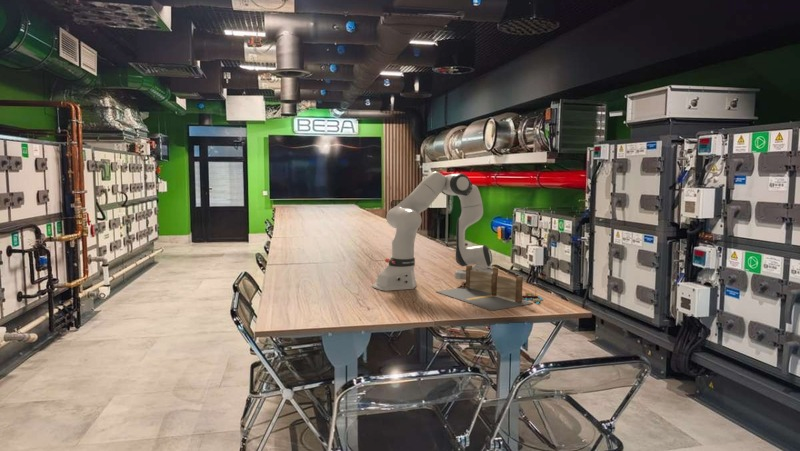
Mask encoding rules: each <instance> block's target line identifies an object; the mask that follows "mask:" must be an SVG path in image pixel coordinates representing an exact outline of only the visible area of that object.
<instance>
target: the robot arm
mask: <svg viewBox="0 0 800 451" xmlns="http://www.w3.org/2000/svg"><path fill="white" fill-rule="evenodd" d="M440 194H443V195H445V196H457V197H458V198H459V201H460V208H461V213H460V216H459V217H458V218H457V220H456V229H455V230H456V234H455V235H456V236H455V238H456V240H455V241H456V242H455V244H456V248H455V262H456V263H457V264H458V265H460V267H466V265H472V270H477V271H482V272H487V273H492V274H493V266H492V264H493V255H492V251H491V249H490V248H489V247H488V246H487V245H486V244H482V245H481V244H479V245H474V246H466V243H465V242H466V230H467V229H468V228H469V227H471V226H472V225H474V224H475V223H478V222H479V221H480V220H481V219H482V217H483V215H484V206H483V201H482V199H483V198H482V196H481V193H480V189H479V188H478V186H477V185H475V184H472V182H471V179H470V178H469V177H468V176H467V175H466V174H464V173H459V172H458V173H450V174H446V175H444V174H443V173H441V172H439V171H432V172H431V173H429V174H428V175H427V176H426V177H425V178H424V179H423V180H421V181H420V182H419V184H418V185H417V186H416V188H414V189H413V191H412V192H411V193H409V195H408V196H406V197H405V198H404V199H403V200H401V201H400V202H399V203H397V204H396V206H394V207H392V208H390V209H389V210H388V211H387V213H386V222H387V223H388V225H389V226H391V227H392V228H394V229H396V231H395V234H394V235H395V236H394V238H393V240H392V242H391V257H390V258H387V257H386V258H384V262H385V263H387V264H388V265H387V266H386V267H385V268H384V269H383V270H381V271H380V272H379V273H378V275H377V276H376V282H375V283H372V284H371V286H372V287H373V288H375V289H377V290H378V291H379V290H380V291H385V292H389V291H401V290H414V289H415V288H416V287H417V285H418V284H417V281H416V276H415V264H416V261H415V260H416V258H415V241H416V236H417V233H418V229H419V228H420V227H421V225H422V222H423V221H422V216H421V213H422V212H424V211H426V210H427V209H428V208H429V207H430V206H431V205H432V203H434V201H435V200H436V199H437V198H438V197H439V196H440ZM454 279H455V280H463V281H464V280H465V281H466V269H458V270H456V271H455V272H454Z"/></svg>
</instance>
